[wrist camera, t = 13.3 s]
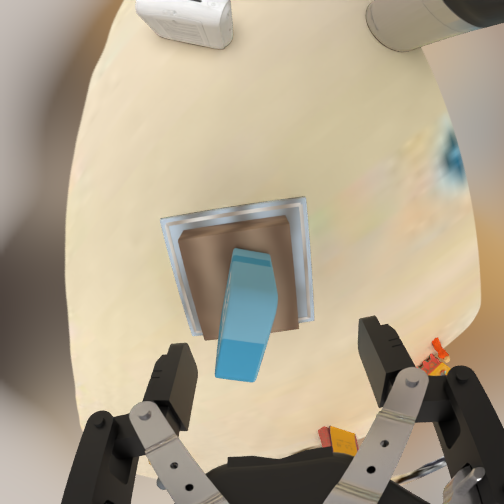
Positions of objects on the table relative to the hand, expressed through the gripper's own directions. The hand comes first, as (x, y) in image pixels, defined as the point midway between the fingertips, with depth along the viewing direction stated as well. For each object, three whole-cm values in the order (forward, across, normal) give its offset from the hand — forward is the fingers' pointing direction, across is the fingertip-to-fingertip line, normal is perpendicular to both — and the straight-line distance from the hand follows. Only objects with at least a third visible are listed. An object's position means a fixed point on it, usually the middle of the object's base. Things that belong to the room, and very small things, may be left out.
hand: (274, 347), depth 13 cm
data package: (+24, +4, +11) cm, 27 cm away
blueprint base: (+29, +4, +11) cm, 31 cm away
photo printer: (+30, +4, -24) cm, 39 cm away
